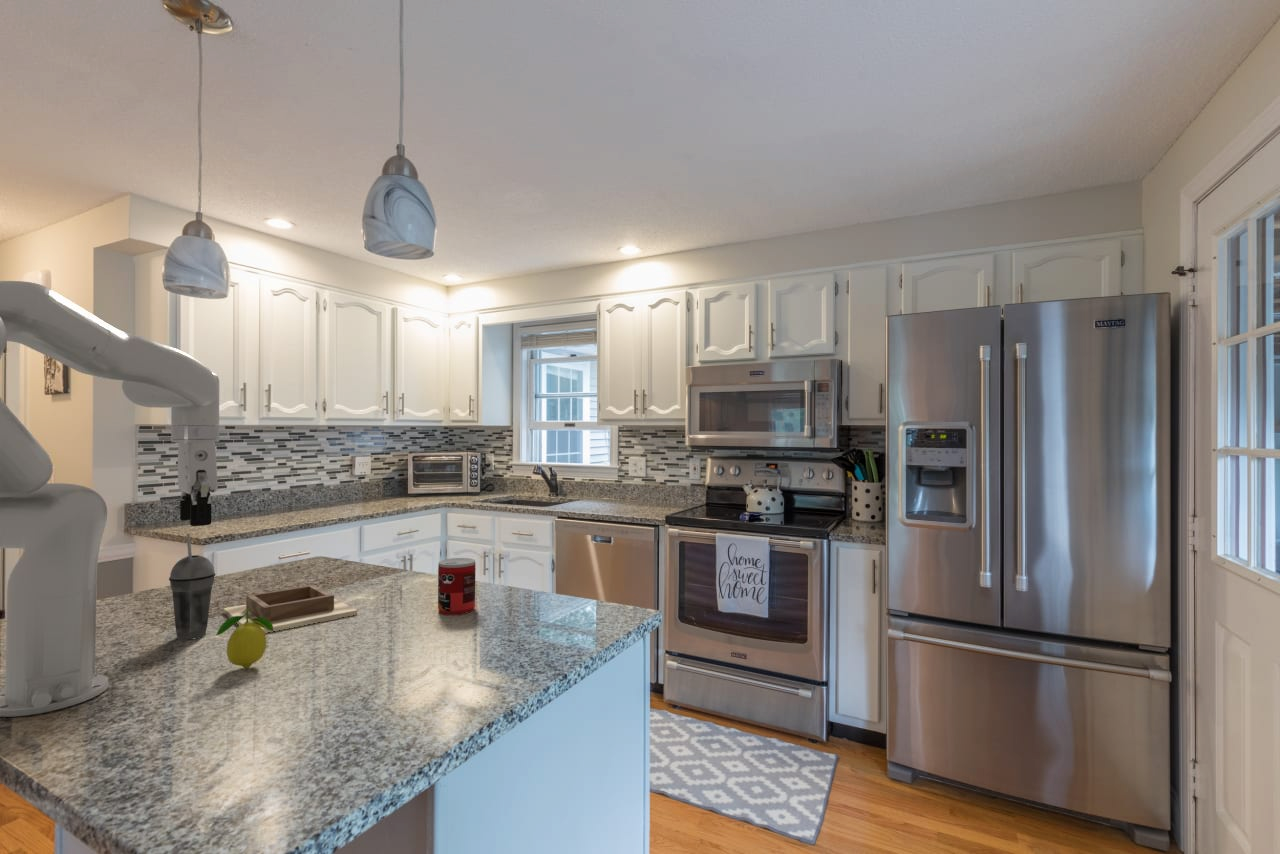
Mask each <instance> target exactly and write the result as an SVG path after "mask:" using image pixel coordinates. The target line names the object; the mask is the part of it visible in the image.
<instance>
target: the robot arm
mask: <svg viewBox="0 0 1280 854" xmlns="http://www.w3.org/2000/svg"><path fill="white" fill-rule="evenodd" d="M7 342H12V343H14V342H15V343H18V344H20V345H23V346H26V347H27V348H30V349H32V350H34V351H36V352H38V353H39V354H42V355H44V356H46V357H48V358H51V359H52V360H54V361H56V362H59V363H61V364H62V365H64V366H66V367H68V368H70V369H73V370H74V371H76V372H79V373H81V374H84V375H89V376H93V377H97V378H103V379H108V380H116V381H122V384H121V389H122V392H123V394H124V396H125V397H126V398H127V399H128V400H129V401H131V403H133V404H135V405H137V406H141V407H143V408H159V409H160V408H171V419H170V420H171V421H170V422H171V423H170V424H171V426H170V427H171V430H170V432H171V433H170V434H171V435H170V437H171V438H170V439H171V441H170V442H171V443H178V447H177V483H178V484H177V485H178V486H177V487H178V489H179V491H181V493H180V500H179V502H180V503H179V519H180V520H181V521H189V525H190V526H191V527H202V526H210V525H211V524H212V497H211V493H213V494H214V493H216V492H217V491H218V489H219V488H218V486H219V485H218V469H217V468H218V466H217V452H216V445H215V443H218V442H219V443H220V379H219V376H218V375H217V373H214V372H212V370H211V369H210V368H208V367H207V366H206V365H205V364H203V363H202V362H200V361H199V360H197V359H196V358H194V357H193V356H191V355H189V354H188V353H186V352H184V351H181V350H179V349H178V348H174V347H172V346H170V345H167V344H163V343H160V342H157V341H154V340H150V339H148V338H145V337H142V336H140V335H136V334H134V333H130V332H127V331H123V330H121V329H118V328H116V327H115V326H112V325H111V324H109V322H108V323H107V322H105V320H103V319H100V318H99V317H98V316H96V315H95V314H92V312H89V311H88V310H86V309H84V308H83V307H82V306H80V305H78V304H76V303H75V302H73V301H72V300H70V299H68V298H66V297H65V296H63V295H61V294H60V293H58V292H56V291H55V290H53V289H51V288H50V287H47V286H46V285H44V284H43V285H42V284H40V283H36V282H31V281H24V280H23V281H22V280H0V360H1V358H2V355H3V352H5V351H4V350H5V348H6V344H7ZM53 471H54V467H53V462H52V460H51V457H50V455H49V453H48V452H47V451H46V449H45V448H44V447H43V446H42V444H41V443H40V442H39V441H38V440H37V439H36V437H34V435H33V434H32V433H31V432H30V431H29V430H28V428H26V426H25V425H24V424H23V423H22V422H21V421H20V419H19V418H18V417H17V416H16V415H15V414H14V413H13V412H12V410H11V409H10V408H9V407H8V405H7V404H6V402H4V400H3V399H2V397H1V396H0V549H24V550H23V552H22V554H21V556H20V557H19V559H18V561H17V562H16V564H15V565H14V567H13V569H12V570H11V572H10V574H9V577H8V581H7V587H6V588H7V589H6V624H5V626H6V628H5V629H6V630H5V631H6V633H5V636H6V637H5V640H6V641H5V669H4V670H5V676H4V681H5V682H4V683H5V684H4V692H2V693H1V694H0V717H5V718H6V717H7V718H10V717H13V718H15V717H24V716H25V717H26V716H31V715H32V716H33V715H38V714H43V713H49V712H54V711H57V710H61V709H65V708H69V707H72V706H75V705H78V704H81V703H83V702H86V701H88V700H91V699H94V698H95V697H97V696H99V695H101V694H102V693H103V692H105V691H106V690H107V689H108V686H109V678H108V677H107V676H106V675H104V674H100V673H99V674H98V673H96V644H97V641H96V640H97V639H96V638H97V635H96V634H97V594H98V593H97V591H98V589H97V588H98V586H97V585H98V579H97V578H98V562H99V553H100V546H101V543H102V539H103V535H104V531H105V528H106V524H107V521H108V507H107V503H106V501H105V500H104V498H103V497H102V495H101V494H99V493H98V492H97V491H96V490H94V489H92V488H90V487H86V486H83V485H79V484H73V483H64V482H63V483H60V482H59V483H58V482H57V483H53V482H52V483H50V482H49V481H50V479H51V478H52V475H53Z"/></svg>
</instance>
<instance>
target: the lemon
mask: <svg viewBox="0 0 1280 854" xmlns="http://www.w3.org/2000/svg"><path fill="white" fill-rule="evenodd" d="M246 614H247V615H246ZM246 614H245V615H246V622H245V623H244V624H243V625H241V626H238V627H236V628H235V629H234V630H233V631H232V633H231V635H230V636H229V639H228V640H227V645H226V655H227V658H228V660H229V662H230V663H231V664H232V665H235V666H237V667H239V666H240V667H243V668H244V669H245V670H246V669H249V668H250V667H251V666H252V665H253V664H254V663H256V662H258V661H259V660H261V658H262V657H263V655H265V651H266V649H267V648H266V647H267V637H266V633H264V631H263V629H262V628H264V629H267V630H270V631H274V630H273V625H272V624H271V622H270V621H269V620H267V619H266V618H254V619H251V618H249V617H248V608H247V613H246ZM245 615H244V616H245ZM244 616H234V617H231V618H229V617H228V618H227V619H226V620H225V621H224V622H223V623H222V624H221V625H220V628H219V629H218V630H217V632H216V635H215V636H219V635H220V636H221V635H222V634H223V633H225V632H226V631H227V630H229V629H230V628H232V627H233V626H234V625H236V623H237V622H238V621H239V620H240V619H242V618H243V617H244ZM248 618H249V619H251V620H252V621H253V622H254V623H251V622H249V621H248ZM261 627H262V628H261Z"/></svg>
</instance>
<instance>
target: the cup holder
mask: <svg viewBox="0 0 1280 854" xmlns="http://www.w3.org/2000/svg"><path fill="white" fill-rule="evenodd" d="M245 596H246V602H245V604H240V605H235V606H229V607H223V611H222V613H223V614H224V615H225V614H226V615H227V616H226V615H225V616H226V617H228V619H229V618H231V617H234V616H244V615H245V614H246V613H247V608H248V617H249V618H251V619H254V618H266V619H267V620H269V621H270V622H271V624H272V625H273V630H274V631H275V632H279V630H280V631H285V630H290V629H294V627H295V628H298V627H299V626H300V627H304V625H305V626H309V625H308V624H310V625H314V624H313V623H315V624H318V622H320V623H324V622H327V621H328V622H329V621H334V620H338V618H339V619H343V618H342V617H344V618H349V617H354V616H357V615H358V610H357V608H354V607H352V606H349V605H348V604H346V603H345V602H342V601H341V600H338V599H336V598H335V595H334V594H332V593H330V592H328V591H326V590H324V589H323V588H320V587H318V586H317V585H315V584H309V585H303V586H297V587H290V588H284V589H279V590H272V591H266V592H260V593H253V594H248V595H245ZM246 615H247V614H246ZM246 615H245V616H244V617H243V618H242V619H240V620H239V621H238V622H237V624H238V625H239V626H241V625H243V624H244V623H245V622H246ZM353 615H354V616H353ZM348 616H349V617H348ZM249 618H248V621H249V622H251V623H254V622H253V621H252V620H251V619H249ZM237 624H236V625H237ZM238 625H237V626H238ZM239 626H238V627H239ZM300 627H299V628H300ZM261 628H262V627H261ZM289 628H290V629H289ZM262 629H263V631H264V633H265V634H269V633H268V632H270V633H274V632H273V631H270V630H267V629H264V628H262ZM284 629H285V630H284Z"/></svg>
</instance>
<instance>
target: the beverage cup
mask: <svg viewBox="0 0 1280 854" xmlns="http://www.w3.org/2000/svg"><path fill="white" fill-rule="evenodd" d="M186 543H187V544H186V545H187V555H186V556H185V557H183V558H181V559H180V560H179V561H177V562H175V564H174V566H173V567H172V569H171V571H170V574H169V575H170V576H169V577H168V578H169V579H168V581H169V583H170V584H169V585H170V590H171V591H172V601H173V603H172V605H173V613H174V623H175V624H174V625H175V626H174V627H175V632H176V640H177V639H178V641H188V640H187V639H193V638H197V639H199V638H198V637H201V638H203V637H205V636H206V635H207V627H208V625H209V613H210V608H211V607H210V605H211V598H212V590H213V589H212V587H213V585H214V582H215V576H216V573H215V568H214V567H215V566H214V565H213V562H211V561H210V559H209V558H207V557H205V556H203V555H200V554H199V555H198V554H196V555H195V554H194V555H192V543H191V533H186ZM204 635H205V636H204ZM202 636H203V637H202ZM193 640H194V639H193Z"/></svg>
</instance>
